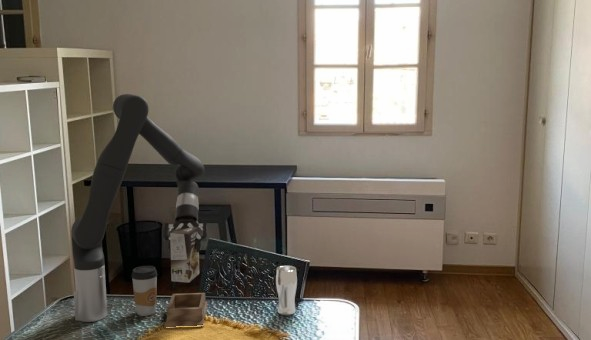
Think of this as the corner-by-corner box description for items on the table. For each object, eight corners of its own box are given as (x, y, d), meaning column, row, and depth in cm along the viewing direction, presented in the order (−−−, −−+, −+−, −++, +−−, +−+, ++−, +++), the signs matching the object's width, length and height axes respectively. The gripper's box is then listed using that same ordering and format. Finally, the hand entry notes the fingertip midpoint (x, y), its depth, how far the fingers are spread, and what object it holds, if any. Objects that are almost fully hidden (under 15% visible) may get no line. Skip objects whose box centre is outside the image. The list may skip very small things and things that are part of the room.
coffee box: (189, 282, 175) (188, 233, 173) (170, 281, 177) (169, 232, 174) (200, 273, 184) (198, 226, 182) (182, 272, 185) (180, 225, 183)
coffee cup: (143, 319, 179) (141, 274, 177) (128, 313, 184) (125, 270, 182) (164, 311, 185) (162, 268, 183) (148, 305, 190) (146, 263, 188)
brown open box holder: (164, 328, 172) (163, 313, 171) (172, 304, 191) (172, 290, 191) (203, 327, 173) (202, 312, 172) (207, 303, 192) (207, 289, 192)
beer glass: (297, 307, 188) (297, 265, 186) (295, 316, 181) (295, 272, 179) (277, 307, 189) (277, 264, 187) (275, 315, 182) (274, 271, 180)
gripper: (164, 203, 184) (160, 246, 174) (207, 202, 185) (206, 245, 175) (167, 215, 190) (163, 258, 180) (209, 214, 191) (207, 256, 181)
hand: (184, 251), depth 178 cm, fingers closed on coffee box, 8 cm apart
